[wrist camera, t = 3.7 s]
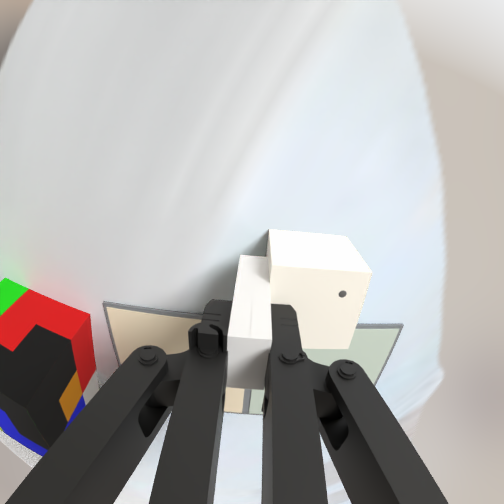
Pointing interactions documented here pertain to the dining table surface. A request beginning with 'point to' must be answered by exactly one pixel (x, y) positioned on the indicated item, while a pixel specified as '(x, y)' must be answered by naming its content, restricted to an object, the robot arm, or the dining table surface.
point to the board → (236, 399)
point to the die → (318, 284)
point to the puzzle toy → (42, 366)
